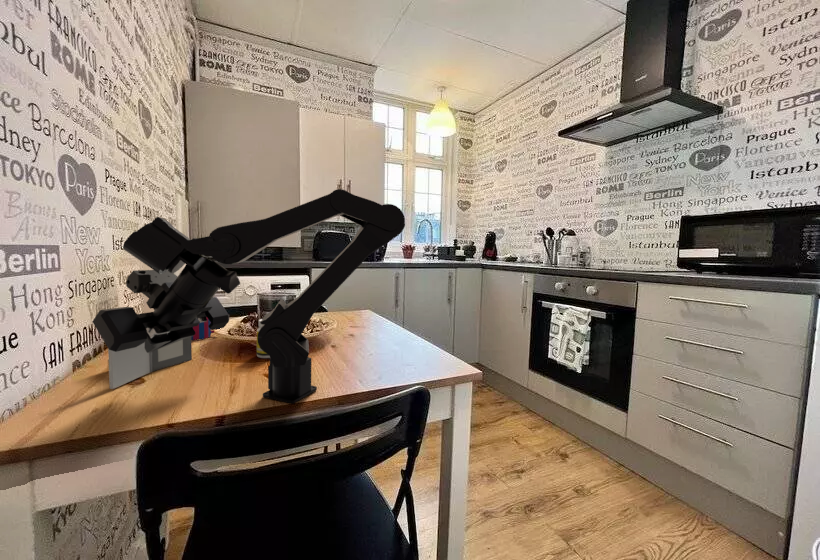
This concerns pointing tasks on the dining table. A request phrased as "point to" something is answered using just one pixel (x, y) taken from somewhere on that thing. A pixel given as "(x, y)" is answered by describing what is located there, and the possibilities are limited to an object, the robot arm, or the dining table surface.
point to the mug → (202, 330)
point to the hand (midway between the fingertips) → (148, 350)
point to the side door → (128, 365)
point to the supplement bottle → (259, 351)
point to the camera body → (172, 354)
